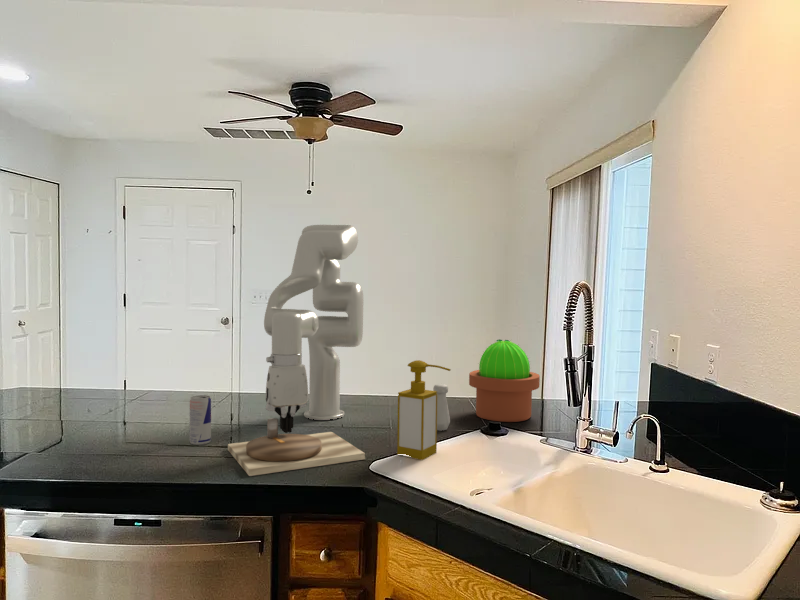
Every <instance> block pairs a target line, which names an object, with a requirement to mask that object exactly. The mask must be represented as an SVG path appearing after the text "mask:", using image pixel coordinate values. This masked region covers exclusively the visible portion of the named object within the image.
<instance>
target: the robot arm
mask: <svg viewBox="0 0 800 600" xmlns="http://www.w3.org/2000/svg"><path fill="white" fill-rule="evenodd" d="M358 243H359V235H358V232H357V228H355V227H354V225H351V224H312V225H308V226H305V227H304V228H303V229H302V231H301V235H300V236H299V237H298V242H297V246H296V248H295V249H296V251H295V255H294V259H293V264H292V269H291V273H290V274H289V275H288V276H287V277H286V278H285V279H283V280H282V281H281V282H280V283H279V284H278V285H277V286H276V287H275V288H274V289H273V291H272V292H271V294H270V295H269V298H268V302H267V305H266V309H265V312H264V316H263V317H264V319H263V325H264V331H265V333H266V334H267V335H269V336H270V337H271V353H270V356H267V357H266V359H265V362H266V363H269V364H270V365H269V367H268V371H267V377H266V385H265V401H266V405H265V411H269V412H274V413H276V414H277V415H278V416H279V428H280V430H281V431H282V432H283V433H284V434H291V433H292V432H293V430H292V429H293V428H294V417H295V416H296V413H298V411H299V410H300V409H303V408H306V407H307V406H309V408H308V409H307V410H305V411H304V412H303V416H304V418H305V419H308V418H309V420H313V419H314V420H315V421H331V420H330V419H333V420H337V418H339V419H341V417H342V418H344V416H345V411H344V410H342V409H341V408H340V403H341V402H340V399H341V398H340V396H341V395H340V393H341V392H340V390H341V387H340V386H341V385H340V383H341V381H340V380H341V362H340V357H339V354H338V353H337V352H336V350H335V349H334V348H336V347H337V348H338V347H339V348H356V347H358V346H360V344H361V343H362V340H363V334H364V333H363V332H364V330H363V329H364V291H363V289H362V286H361V285H360V284H359V283H358V282H354V281H341V265H340V263H339V261H340V260H341V261H342V260H346V259H347V258H348V257H350V256H351V255H352V254H353V253H354V252H355V250H356V249H357V246H358ZM310 290H312V305H313V307H314V309H315V310H317V311H320V312H327V313H328V312H330V313H346V315H347V316H335V315H317V314H316V312H315V311H312V310H311V309H310V310H309V309H295V308H283V307H284V305H285V304H286V303H287V302H288V301H289V300H291V299H292V298H294V297H296V296H298V295H300V294H301V295H302V294H303V293H306V292H308V291H310ZM302 339H307V342H308V343H307V344H308V351H309V353H308V355H309V379H308V376H307V375H308V374H307V369H306V365H305V364H303V362H302V357H303V356H302V355H303V354H302V353H303V351H302V349H303V348H302V342H303V341H302ZM308 380H309V382H308ZM308 401H309V403H308ZM308 404H309V405H308ZM286 407H287V409H286Z"/></svg>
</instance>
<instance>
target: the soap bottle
mask: <svg viewBox="0 0 800 600" xmlns="http://www.w3.org/2000/svg"><path fill="white" fill-rule="evenodd" d="M407 367H410V372H411V373H414V380H411V381H410V388H409V389H406V390H402V391H399V392H398V393H397V433H396V434H397V437H396V438H397V439H396V440H397V443H396V444H397V446H396V447H397V449H396V455H397V454H406V455H409V456H411V457H412V458H411V459H415V460H419V461H423V460H425V459H427V458H429V457H431V456H433V455H435V454H437V442H438V441H437V438H438V437H437V435H438V434H437V432H438V430H437V394H436V393H437V391H433V390H429V389H426V381H424V380H422V373H426V371H427V368H428V367H431V368H439V369H442V370H445V371H449V372H450V371H451V370H452V369H451V368H448V367H445V366H441V365H437V364H429V363H428V362H425V361H423V360H417V359H416V360H413V361H411V362H409V363H408V364H407Z"/></svg>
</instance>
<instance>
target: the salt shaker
mask: <svg viewBox="0 0 800 600" xmlns="http://www.w3.org/2000/svg"><path fill="white" fill-rule="evenodd" d="M432 391H437V393H436V394H437V431H442V430H443V431H446V430H448V427H449V425H450V424H451V417H450V411H449V406H448V400H447V393H448V392H449V386H448V385H447V384H444V383H437V384H434V385H433V390H432Z"/></svg>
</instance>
